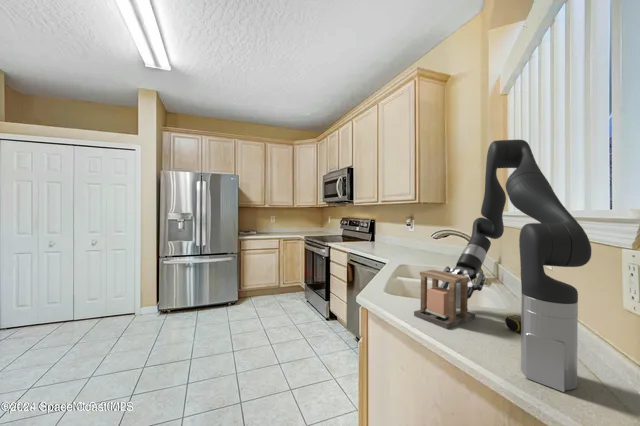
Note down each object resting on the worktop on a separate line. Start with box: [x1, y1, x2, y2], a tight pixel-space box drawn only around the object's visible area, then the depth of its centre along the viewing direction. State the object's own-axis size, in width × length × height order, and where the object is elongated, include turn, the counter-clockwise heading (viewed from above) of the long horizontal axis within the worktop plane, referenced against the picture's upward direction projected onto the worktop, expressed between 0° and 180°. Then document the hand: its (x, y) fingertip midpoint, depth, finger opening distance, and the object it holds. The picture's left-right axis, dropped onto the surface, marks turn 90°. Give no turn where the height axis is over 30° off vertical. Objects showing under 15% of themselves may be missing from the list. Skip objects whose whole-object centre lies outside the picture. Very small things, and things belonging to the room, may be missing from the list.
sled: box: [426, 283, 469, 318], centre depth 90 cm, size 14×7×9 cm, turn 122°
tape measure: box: [504, 314, 521, 334], centre depth 80 cm, size 7×7×4 cm
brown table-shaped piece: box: [413, 269, 476, 330], centre depth 89 cm, size 16×13×15 cm
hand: (453, 294), depth 92 cm, fingers open, 8 cm apart
